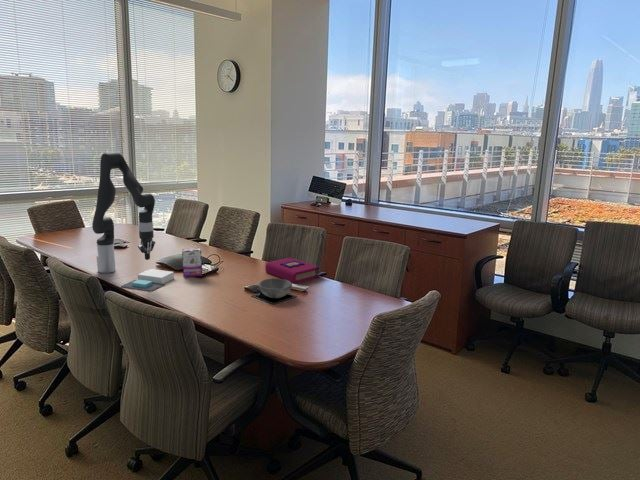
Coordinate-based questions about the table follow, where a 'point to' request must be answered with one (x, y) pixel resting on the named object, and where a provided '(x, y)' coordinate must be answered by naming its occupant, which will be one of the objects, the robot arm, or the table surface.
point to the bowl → (275, 287)
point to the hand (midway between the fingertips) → (147, 259)
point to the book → (292, 270)
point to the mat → (150, 288)
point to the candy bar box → (192, 262)
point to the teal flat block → (142, 283)
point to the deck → (156, 276)
